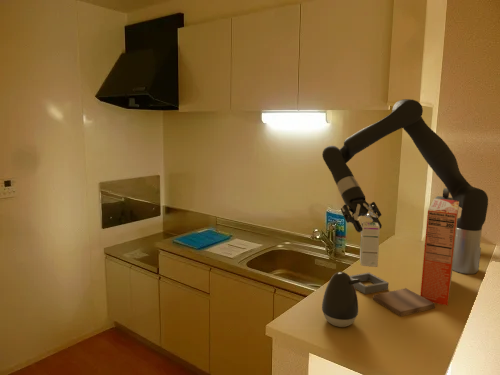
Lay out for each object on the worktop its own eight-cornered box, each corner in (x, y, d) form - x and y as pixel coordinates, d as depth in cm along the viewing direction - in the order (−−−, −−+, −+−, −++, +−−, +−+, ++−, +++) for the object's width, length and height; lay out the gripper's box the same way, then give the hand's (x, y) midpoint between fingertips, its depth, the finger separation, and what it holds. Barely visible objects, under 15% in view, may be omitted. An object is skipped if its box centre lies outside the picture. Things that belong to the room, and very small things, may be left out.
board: (405, 292, 130) (405, 288, 130) (434, 307, 119) (435, 303, 119) (373, 299, 124) (373, 295, 124) (400, 316, 114) (400, 311, 113)
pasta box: (427, 275, 144) (434, 198, 139) (451, 280, 140) (459, 200, 135) (420, 299, 125) (427, 210, 120) (447, 305, 121) (456, 213, 116)
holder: (368, 278, 141) (369, 272, 141) (388, 289, 132) (388, 282, 132) (346, 282, 137) (346, 276, 137) (364, 294, 128) (365, 287, 128)
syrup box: (378, 267, 130) (380, 226, 127) (360, 265, 131) (362, 225, 129) (375, 261, 135) (378, 222, 133) (358, 260, 137) (361, 221, 134)
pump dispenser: (351, 335, 103) (355, 282, 100) (315, 325, 108) (318, 274, 106) (362, 319, 111) (365, 270, 109) (328, 310, 117) (330, 263, 114)
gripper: (339, 186, 134) (358, 226, 126) (371, 184, 140) (392, 222, 131) (329, 198, 140) (348, 237, 131) (361, 195, 145) (380, 233, 137)
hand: (370, 230), depth 131 cm, fingers closed on syrup box, 7 cm apart
